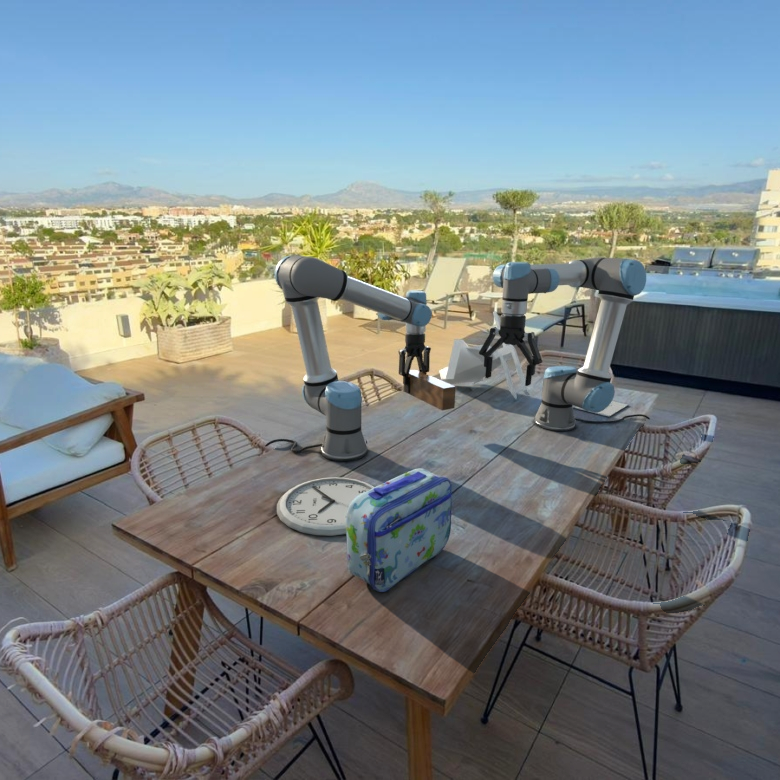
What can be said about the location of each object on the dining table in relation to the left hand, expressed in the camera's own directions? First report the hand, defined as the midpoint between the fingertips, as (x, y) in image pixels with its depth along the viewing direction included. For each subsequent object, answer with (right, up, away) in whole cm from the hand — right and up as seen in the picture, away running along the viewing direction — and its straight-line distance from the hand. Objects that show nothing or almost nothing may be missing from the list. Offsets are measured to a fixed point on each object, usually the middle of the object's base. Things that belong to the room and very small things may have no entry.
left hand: (413, 391), depth 204 cm
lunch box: (-7, -39, -86) cm, 95 cm away
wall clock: (-25, -31, -61) cm, 73 cm away
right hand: (+28, +3, -38) cm, 48 cm away
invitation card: (+82, -7, +22) cm, 85 cm away
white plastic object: (+32, -1, +39) cm, 51 cm away
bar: (+5, -3, -8) cm, 10 cm away
